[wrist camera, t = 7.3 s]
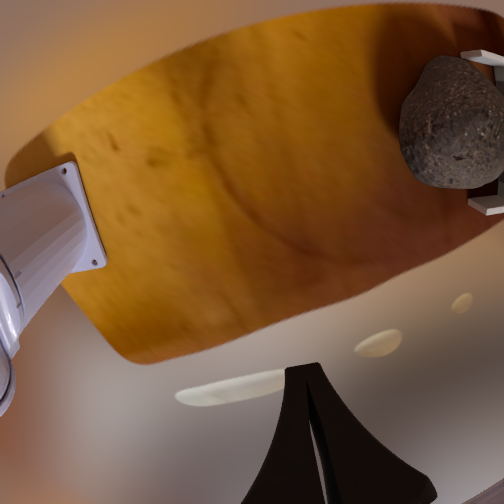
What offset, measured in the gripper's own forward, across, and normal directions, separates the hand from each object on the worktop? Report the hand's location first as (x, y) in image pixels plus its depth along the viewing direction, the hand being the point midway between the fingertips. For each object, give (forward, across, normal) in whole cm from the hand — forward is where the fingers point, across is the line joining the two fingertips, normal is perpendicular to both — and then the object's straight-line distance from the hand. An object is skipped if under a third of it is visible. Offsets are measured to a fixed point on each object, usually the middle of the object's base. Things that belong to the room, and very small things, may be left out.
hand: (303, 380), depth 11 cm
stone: (+11, -13, -8) cm, 19 cm away
